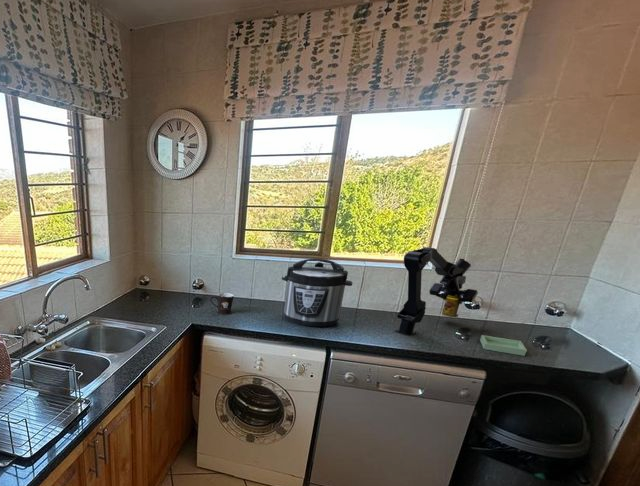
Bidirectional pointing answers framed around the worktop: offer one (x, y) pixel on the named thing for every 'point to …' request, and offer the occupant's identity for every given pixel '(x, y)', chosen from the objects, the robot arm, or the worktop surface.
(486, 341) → the tray
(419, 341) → the worktop surface
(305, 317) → the pressure cooker
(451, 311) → the condiment
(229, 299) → the coffee mug
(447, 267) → the robot arm
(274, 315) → the worktop surface
